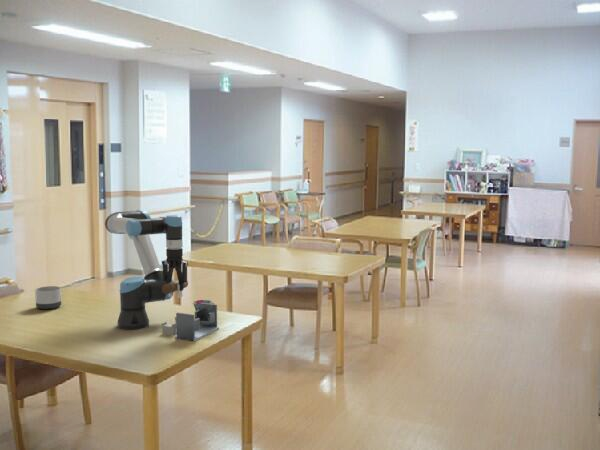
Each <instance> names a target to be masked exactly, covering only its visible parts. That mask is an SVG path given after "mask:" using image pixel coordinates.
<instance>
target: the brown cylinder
mask: <svg viewBox="0 0 600 450" xmlns="http://www.w3.org/2000/svg"><path fill="white" fill-rule="evenodd" d="M178 283H179V281H178V279H177V280H174V282H171V283H168V284H165V285H163V286H162V292H163V293H164V294H169V293H172V292H178ZM188 286H189V281H188V280H187V282H186V283H184V284H183V287H184V289H185V288H187V287H188Z"/></svg>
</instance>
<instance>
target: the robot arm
mask: <svg viewBox="0 0 600 450" xmlns="http://www.w3.org/2000/svg"><path fill="white" fill-rule="evenodd" d="M104 228H105V229H106V230H107V232H109V233H111V234H114V235H115V234H116V235H122V234H127V235H128V238H129V240H132V241H133V245H134V247H135V250H136V253H137V256H138V258H139V262H140V264H141V267H142V270H143V274H144V277H143V276H132V277H128V278H125V279H123V280H122V281H121V282H120V283H119V296H120V297H119V299H120V300H119V301H120V302H119V303H120V312H119V316H118V318H117V321H116V322H117V325H116V326H117V328H118V329H120V330H128V331H129V330H139V329H144V328H147V327H149V326H150V319H149V316H148V314H147V310H146V304H149V303H153V302H154V303H155V302H164V301H166V300H170V299H171V298H173V297H174V294H175V293H174V292H172V293H169V294H164V293H163V292H162V286H163V285H165V284H168V283H171V282H174V281H175V280H174V277H173V275H174V270H175V272H176V276H177V280H178V281H179V283H178V290H177V298H178V299H180V298H183V291H184V289H185V288H184V287H183V284H184V283H186V282H187V281H188V265H189V262H188V261H184V258H183V255H184V254H183V251H184V249H183V218H182V215H180V214H169V215H166V216H159V217H156V218H155V217H154V218H152V217H151V215H150V214H149V212H148V211H146V210H132V211H116V212H112V213H111V214H109V215H108V216H107V217H106V218H105V221H104ZM160 234H161V235H163V234H164V235H165V239H166V240H165V242H166V243H165V246H166V249H165V250H166V252H165V253H166V254H165V255H166V259H163V260H161V264H160V261H159V259H158V256H157V253H156V250H155V248H154V245H153V243H152V239H151V237H150V235H160ZM161 265H162V268H161Z"/></svg>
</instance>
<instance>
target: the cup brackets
mask: <svg viewBox="0 0 600 450" xmlns="http://www.w3.org/2000/svg"><path fill="white" fill-rule="evenodd" d="M175 315H176V316H175V317H176V333H177V334H176V336H177V340H183V341H189V342H190V341H191V342H195V341H194V338H195V331H197V330H199V329H200V325H202V326H209V327H218V304H215V303H214V304H207V303H200V310H198V311H194V314H191V313H183V312H175ZM180 337H182V338H180ZM184 338H186V340H185V339H184ZM187 338H188V339H187ZM189 338H190V340H189Z"/></svg>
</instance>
